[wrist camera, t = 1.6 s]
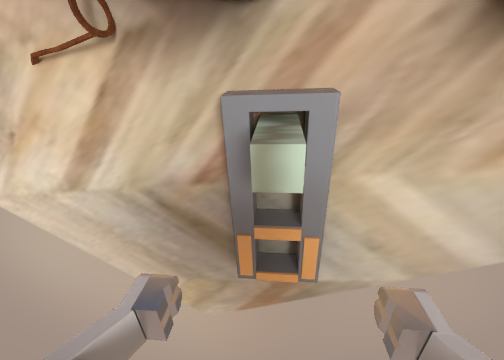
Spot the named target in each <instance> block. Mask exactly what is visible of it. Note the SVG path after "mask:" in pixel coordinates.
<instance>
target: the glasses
mask: <svg viewBox="0 0 504 360" xmlns="http://www.w3.org/2000/svg"><path fill="white" fill-rule="evenodd" d="M97 1H98V2H99V3H100V4H101V6H102V7H103V9H104V11H105V13H106V16H107V19H108V29H107V30H106V31H101V30H97V29H95V28H94V27H92V26H91V25H90V24H89V23H88V22H87V21H86V20H85V19H84V17H83V16H82V14H81V13H80V11H79V9H78V6H77V3H76V0H68V3H69V5H70V8H71V10H72V12H73V14H74V16H75V17H76V19H77V20H78V22H79V23H80V24H81V25H82V26H83V27H84V28H85V29H86V30H87V31H88V32H89V33H87V34H84V35H82V36H80V37H77V38H75V39H73V40H71V41H68V42H66V43H64V44H61V45H59V46H57V47H54V48H50V49H45V50H41V51H37V52H34V53H31V63H32V65H34V64H37V63H38V57H39V56H42V55H46V54H49V53H53V52H58V51H62V50H64V49H67V48H69V47H72V46H74V45H76V44H79V43H81V42H83V41H86V40H88V39H90V38H93V37H95V36H98V37H108V36H110V35H112V34H113V33H114V31H115V22H114V19H113V17H112V15H111V12H110V10H109V7H108V5H107V3H106V2H105V0H97Z"/></svg>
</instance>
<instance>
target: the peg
mask: <svg viewBox="0 0 504 360" xmlns="http://www.w3.org/2000/svg"><path fill="white" fill-rule="evenodd" d="M250 157H251V179H252V192H266V193H303V187H304V172H305V157H306V141H305V138H304V134H303V131H302V127H301V124H300V120H299V117H298V114H297V113H261V115H260V117H259V120H258V123H257V126H256V129H255V131H254V134H253V137H252V140H251V143H250Z"/></svg>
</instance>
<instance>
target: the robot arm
mask: <svg viewBox="0 0 504 360" xmlns="http://www.w3.org/2000/svg"><path fill="white" fill-rule="evenodd" d="M178 282H179V281H178V277H177V276H169V275H157V274H143V273H142V274H140V275H139V276H138V277H137V279H136V280H135V282H134V283H133V285H132V286H131V288H130V290H129V291H128V293H127V294H126V296H125V297H124V299H123V300H122V302H121V303H120V305H119V307H118V308H117V309H113V310H111V311H110V312H108V313H107V314H106V315H104V316H103V317H101V318H100V319H98V320H97V321H96V322H94V323H93V324H92V325H90V326H89V327H87V328H86V329H85V330H83V331H82V332H80V333H79V334H77V335H76V336H75V337H73V338H72V339H70V340H69V341H68V342H66V343H65V344H63V345H62V346H61V347H59V348H58V349H56V350H55V351H54V352H52V353H51V354H49V355H48V356H47V357H45V358H44V359H43V360H128V359H129V358H130V357H131V356H132V355H133V354H134V353H135V352H136V351H137V350H138V349H139V348H140V347H141V346H142V345H143V344H144V343H145V342H146V340H164V341H167V339H168V336H169V334H170V331H171V329H172V326H173V320H172V318H173V317H174V316H175V315H176V314H177V313H178V311H179V308H180V305H181V300H182V292H181V289H180V288H179V287H178V286H177V285H178ZM378 295H379V297H380V298H379V299H378V300H376V301H375V305H374V315H375V319H376V322H377V325H378V328H379V329H381V331H382V332H383V333H384V334H385V335H384V339H383V342H384V344H385V347H386V349H387V352H388V355H389V357H390V360H492V359H491V358H490V357H488V356H487V355H486V354H484V353H483V352H482V351H480V350H479V349H478V348H477V347H475V346H474V345H473V344H471V343H470V342H469V341H467V340H466V339H465V338H464V337H462V336H461V335H460V334H454V332H453V331H452V329H451V328H450V326H449V324H448V323H447V321H446V320H445V318H444V317H443V315H442V314H441V312H440V310H439V309H438V307H437V306H436V304H435V303H434V301H433V300H432V298H431V297H430V295H429V294H428V292H427V291H426V290H424V289H411V288H394V287H381V288H380V289H379V291H378Z"/></svg>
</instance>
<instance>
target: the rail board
mask: <svg viewBox="0 0 504 360" xmlns="http://www.w3.org/2000/svg"><path fill="white" fill-rule="evenodd" d="M340 96H341V92H339V91H337V90H336V89H334V88H315V89H281V90H248V91H227V92H226V93H224V94H223V95H221V106H222V117H223V127H224V137H225V148H226V158H227V168H228V179H229V189H230V199H231V210H232V220H233V230H234V240H235V251H236V261H237V271H238V278H251V279H256V280H263V281H279V282H295V283H298V281H300V282H316V283H317V281H318V273H319V265H320V257H321V249H322V241H323V232H324V224H325V216H326V208H327V200H328V192H329V184H330V176H331V168H332V160H333V152H334V144H335V136H336V128H337V120H338V112H339V104H340ZM271 111H306V112H305V128H304V138H305V141H306V157H305V172H304V187H303V193H300V209H299V210H277V209H257V204H256V192H252V179H251V157H250V143H251V140H252V137H253V134H254V125H253V112H271ZM258 239H263V240H287V241H298V242H297V254H279V253H259V252H258Z"/></svg>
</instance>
